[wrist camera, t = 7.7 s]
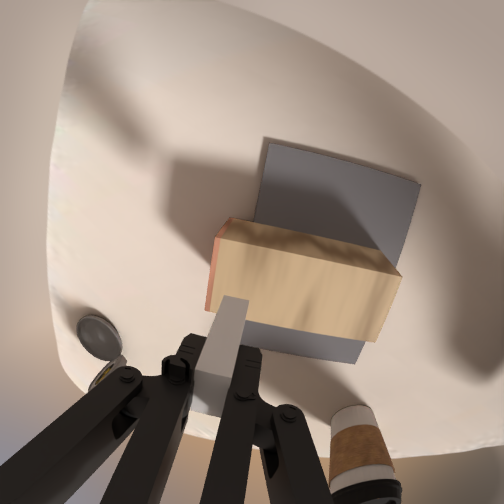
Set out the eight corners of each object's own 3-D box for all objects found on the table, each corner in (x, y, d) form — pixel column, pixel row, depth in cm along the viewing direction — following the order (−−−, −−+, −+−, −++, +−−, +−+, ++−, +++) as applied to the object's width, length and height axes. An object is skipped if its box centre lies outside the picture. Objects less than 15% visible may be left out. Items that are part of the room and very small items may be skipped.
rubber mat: (418, 183, 25) (421, 184, 24) (353, 360, 32) (354, 364, 31) (269, 142, 25) (269, 142, 24) (230, 338, 32) (229, 341, 31)
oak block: (229, 217, 27) (380, 250, 26) (219, 278, 29) (360, 307, 29) (215, 237, 21) (402, 276, 21) (204, 310, 23) (375, 342, 23)
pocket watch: (79, 305, 33) (32, 350, 24) (138, 330, 33) (99, 386, 24) (81, 353, 36) (44, 399, 26) (135, 376, 36) (104, 431, 26)
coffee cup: (323, 401, 34) (331, 506, 20) (388, 395, 33) (415, 492, 19) (318, 438, 37) (322, 529, 23) (376, 433, 36) (392, 519, 22)
